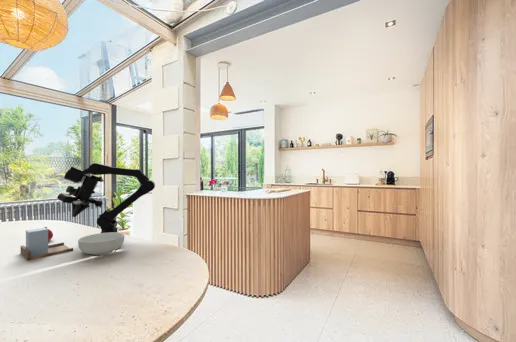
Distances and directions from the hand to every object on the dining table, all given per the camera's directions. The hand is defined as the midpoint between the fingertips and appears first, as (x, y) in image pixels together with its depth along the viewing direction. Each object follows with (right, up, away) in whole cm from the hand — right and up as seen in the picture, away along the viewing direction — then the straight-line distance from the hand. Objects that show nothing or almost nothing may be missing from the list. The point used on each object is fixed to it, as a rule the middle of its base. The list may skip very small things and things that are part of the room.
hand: (73, 216), depth 117 cm
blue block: (-2, -12, -17) cm, 21 cm away
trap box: (0, -13, -14) cm, 19 cm away
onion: (-14, -13, 0) cm, 19 cm away
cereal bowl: (+22, -14, -12) cm, 29 cm away
